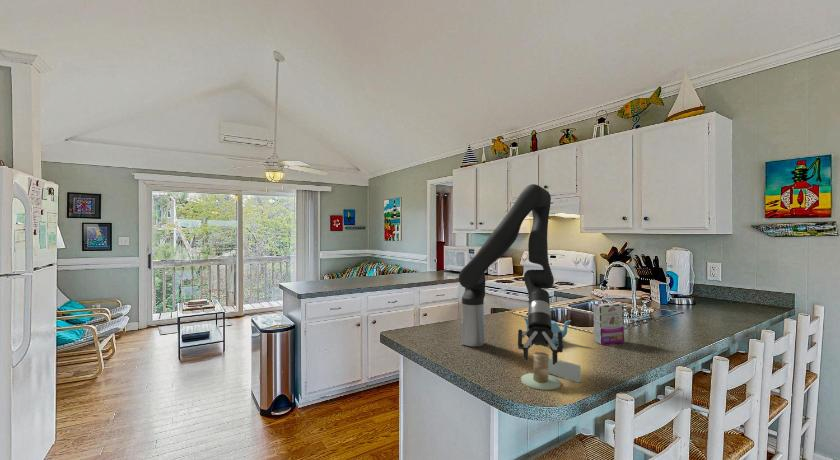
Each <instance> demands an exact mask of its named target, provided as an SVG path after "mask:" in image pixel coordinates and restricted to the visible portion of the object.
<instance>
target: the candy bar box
mask: <svg viewBox="0 0 840 460" xmlns="http://www.w3.org/2000/svg"><path fill="white" fill-rule="evenodd" d="M623 306H624V305H623V303H619V302H603V303H593V304H592V310H593V312H592V313H593V338H594V343H597V344H598V345H601V346H604V345H605V346H606V345H614V344H615V345H616V344H623V343H624V344H625V333H624V332H625V329H624V308H623Z"/></svg>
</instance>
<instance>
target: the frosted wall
mask: <svg viewBox="0 0 840 460" xmlns="http://www.w3.org/2000/svg"><path fill="white" fill-rule="evenodd" d="M581 373H582V371H581V365H579V364H576V363H572V362H570V361H569V362H568V361H565V360H561V359H559V358H557V363H555V365H554V364H553V359H552V357H551V356H549V359H548V375H552V376H554V377H557V378H558V377H559V378H562V379H564V380H569V381H571V382H574V383H581V381H582V379H581V377H582V376H581Z"/></svg>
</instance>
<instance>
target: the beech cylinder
mask: <svg viewBox="0 0 840 460" xmlns="http://www.w3.org/2000/svg"><path fill="white" fill-rule="evenodd" d="M549 357H550V356H549V354H548V353H545V352H542V351H541V352H540V351H538V352H537V351H535V352H534V353H533V360H532V361H533V369H532V371H533V372H532V373H533V380H534V381H536V382H540V383H546V382H548V375H549V373H548V359H549Z"/></svg>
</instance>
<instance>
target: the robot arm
mask: <svg viewBox="0 0 840 460" xmlns="http://www.w3.org/2000/svg"><path fill="white" fill-rule="evenodd" d="M551 201H552V198H551V193H550V192H549V191H548V190H547V189H545V188H544V187H542V186H540V185H539V184H536V183H533V184H529V185H527V186H526V187H524V189H523V190H522V191H521V192H520V193H519V195H518V196H517V198H516V200H515V202H514V203H513V205H512V206H511V208H510V210H508V212H507V213H506V215H505V216H504V217H503V219H502V220H501V221H500V223H499V224H497V226H496V228H495V229H494V230H493V231H492V233H491V234H490V235H489V236H488V238H487V239H486V240H485V242H484V243H483V244H482V246H481V247H480V249H479V250H478V251H477V253H476V254H475V255H474V257H473V258H471V260H469V262H467V264H466V265H464V267H463V268H462V269H461V270H460V272H459V275H458V281H459V284H460V286H462V287H463V288H464V293H463V294H462V297H461V312H462V313H461V315H462V317H461V319H462V321H461V323H460V324H461V325H460V327H461V328H460V329H461V331H460V332H461V334H460V335H461V345H463V346H466V347H467V346H468V347H473V348H474V347H482V346H484V345H485V318H484V317H485V307H484V305H485V303H484V302H485V301H484V300H485V297H486V274H485V272H486V271H487V270H488V269H489V267H490V266H491V265H493V263H495V262H496V261H498V260H499V259H500V258H501V257H502V256H504V255H505V254H506V253H507V251H508V250H509V249H510V248H511V246H512V245H513V244H514V243H515V242H516V240H517V239H518V235H519V233H520V230H521V227H522V224H523V222H524V220H525V219H526V217H527V216H528V215H529V214H530V212H532V213H531V214H532V226H531V230H530V233H529V236H528V242H527V243H528V245H527V246H528V249H527V251H528V261H529V263H530V264H535V265H540V266H541V267H542V269H527V270H526V271H525V273H524V274H523V281H524V284H525V287H526V290H527V294H528V309H527V319H528V330H527V329H526V330H525V331H524V330H522V329H518V330H517V331H518V333H517V347H518V348H517V349H518V350H522V352H523V360H524V361H525V362H526V363H528V362H529V349H531V348H532V347H533V345H535V346H543V347H545V346H547V348H548V349H549V350H551V352H552V353H551V355H552V357H551V358H552V359H553V364H554V365H555V363H557V359H558V354H559V353H563V352H564V344H563V343H564V342H563V341H564V340H563V339H562V333H561V332H558V333H553V332H552V329H551V320H552V312H551V311H552V310H551V306H550V293H549V292H548V291H547V290H546V289H551V288H552V287H553V286H554V284H555V283H554V282H555V278H554V275H553V272H552V270H551V269H552V268H551V267H550V266H551V265H550V263H549V262H550V261H549V252H548V251H549V250H548V247H549V246H548V228H549V219H550V212H551V211H550V210H551ZM525 337H527V338H528V339H527V340H526V342H525V343H524V344H523V339H524V338H525ZM553 337H555V339H556V340H557V341H558V344H557V346H556V345H554V344H553V342H552V340H551V339H552V338H553Z"/></svg>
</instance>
